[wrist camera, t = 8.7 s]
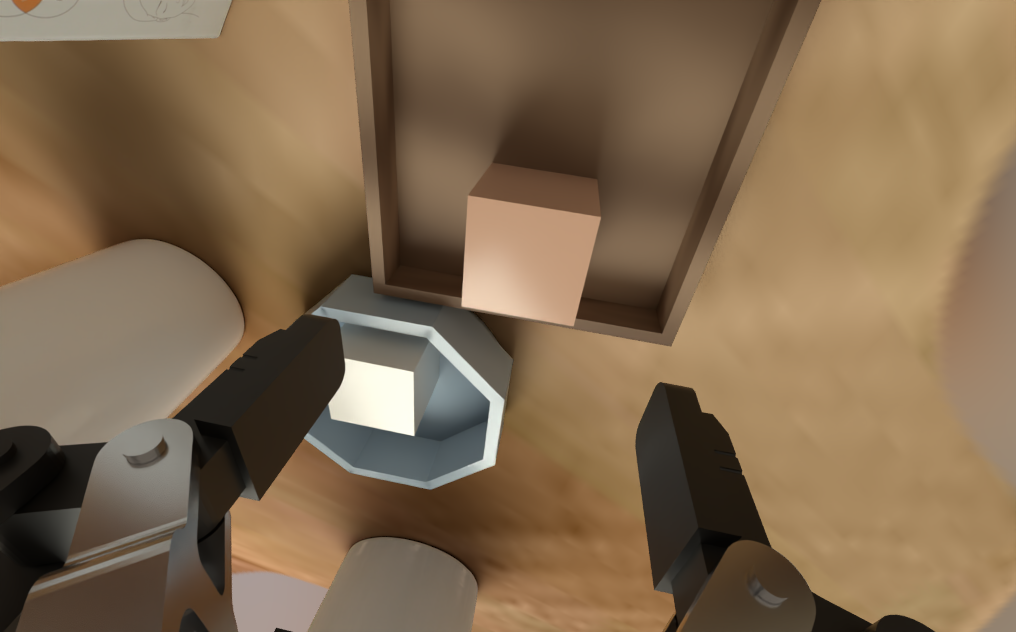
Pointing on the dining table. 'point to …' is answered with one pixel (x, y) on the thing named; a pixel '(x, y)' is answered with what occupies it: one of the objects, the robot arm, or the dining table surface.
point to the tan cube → (529, 242)
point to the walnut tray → (568, 132)
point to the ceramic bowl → (452, 407)
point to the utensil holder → (398, 590)
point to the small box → (111, 19)
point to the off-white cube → (385, 379)
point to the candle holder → (111, 340)
